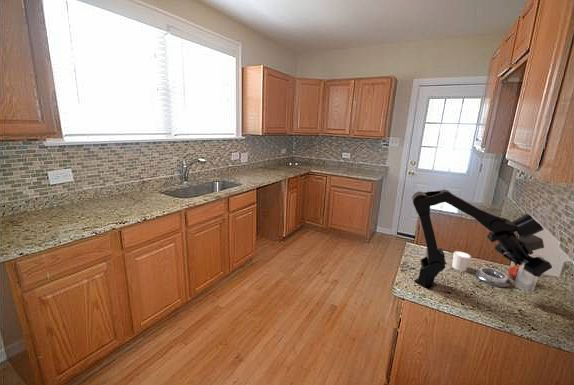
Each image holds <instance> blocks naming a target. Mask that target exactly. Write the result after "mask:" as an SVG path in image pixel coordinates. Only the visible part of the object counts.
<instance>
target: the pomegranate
mask: <svg viewBox="0 0 574 385" xmlns="http://www.w3.org/2000/svg"><path fill="white" fill-rule="evenodd" d="M513 264H514V265H513V266H511V267H509V270H508V273H507V274H508V276H509V277H510V278H511V279H512V280H514V281H515V280H516V276H517V273H518V270H519V267H520V265H518V264H516V263H514V262H513Z"/></svg>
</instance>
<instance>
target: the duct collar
mask: <svg viewBox="0 0 574 385" xmlns="http://www.w3.org/2000/svg"><path fill="white" fill-rule="evenodd" d="M474 275H475V277H476V279H478V280H479V281H481V282H482V283H484V284H487V285H490V286H493V287H497V288H504V289H505V288H509V287H510V285H511V281H510V280H509V277H508V275H507V274H506V273H504V272H503V271H501V270H498V269H496V268H492V267H487V266H486V267H485V266H482V267H480V268H479V269H477V270H476V271H475V273H474Z"/></svg>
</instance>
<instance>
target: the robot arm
mask: <svg viewBox="0 0 574 385" xmlns="http://www.w3.org/2000/svg"><path fill="white" fill-rule="evenodd" d="M411 200H412V204H413V207H414V208H415V211H416V212H417V215H418V217H419V220H420V224H421V227H422V233H423V236H424V241H425V245H426V256H425V257H423V258H421V259H420V265H421V267H420V269H419V273H418V278H416V279H414V282H415V283H416V284H418V285H420V286H422V287H424V288H425V289H426V290H430V289H432V288H434V287H436V286H438V283H436V282H435V280H436V279H435V278H436V277H437V275H438V274H440V272H442V271H444V269H445V268H446V265H447V260H446V257H445V256H446V255H445V252H444V250H443V248H438V245H437V240H436V237H435V232H434V228H433V224H432V220H431V206H436V205H439V204H441V203H442V204H443V203H447V204H448V205H450V206H452V207H454V208H456V209H457V210H459V211H461V212H463V213H464V214H466V215H468V216H469V217H472V218H474V219H475V220H476V221H477V222H479V223H480V224H481V226H483V227H484V228H486V229H488V231H489V232H488V234H487V235H486V237H487V239H488V240H489V241H490V242H491V243H495V242H496V241H497V242H498V244H496V245H495V247H494V250H495V251H496V252H497V253H498V254H500V255H503V257H504V258H506V259H507V260H509V261H511V262H513V264H514V263H516V264H517V265H518V266H519V265H520V263H521V262H524V261H526V262H528V263H526V264H525V266H524V268H523V269H524V270H525V271H527V272H529V273H530V274H532V275H533V276H537V277H538V278H539V277H541V276H542V274H544V273H546V272H547V271H549V270H550V269H553V265H552V263H551V262H550V261H548V260H546V259H545V258H544V257H543V258H544V259H543V258H541V257H542V256H541V257H534V258H533V257H531V256H529V254H530V255H531V254H534V251H537V250H540V249H544V248H545V244H544V240H543V238H542V237H539V236H538V235H536V234H537V233H540V232H543V231H544V230H545V229H544V227H543V226H542V225H541V224H540V223H539V222H538V221H537V220H536V219H534V218H533V216H532V215H530V214H529V213H525V214H524V215H522V216H520V217H519V218H517V219H514V220H512V221H511V220H510V219H509V218H504V217H501V216H500V215H499V214H498V213H496V212H493V211H490V210H488V209H483V208H480V207H478V206H476V205H475V204H472V203H471V202H469V201H466V200H465V199H463V198H462V197H460V196H457V195H456V194H453V193H452V192H450V190H449V189H441V190H435V191H424V192H423V191H416V192H415V193H413V195H412V197H411Z"/></svg>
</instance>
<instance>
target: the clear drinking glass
mask: <svg viewBox="0 0 574 385" xmlns="http://www.w3.org/2000/svg"><path fill="white" fill-rule="evenodd" d="M529 256H531V257H533V258H534V257H541V258H543V259H545V258H544V257H543V256H542V255H539V254H537V253H533V254H531V255H530V254H529ZM526 263H528V262H526V261H524V262H521V263H520V267H519V270H518V273H517V276H516V280H514V286H515V287H517V288H519V289H521V290H523V291H526V292H534V290H535V287H536V285H537V281H538V279H539V277H537V276H533V275H532V274H530V273H529V272H527V271H525V270H524V269H523V268H524V266H525V264H526Z"/></svg>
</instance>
